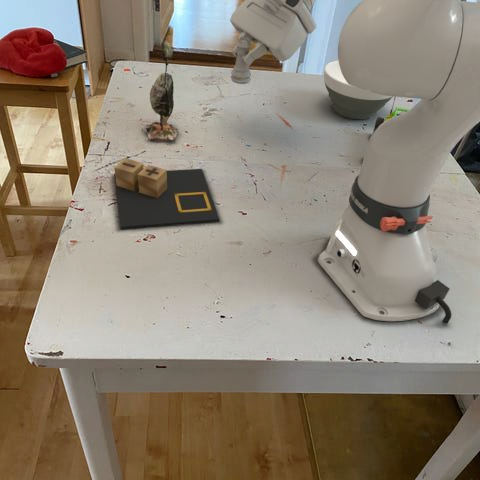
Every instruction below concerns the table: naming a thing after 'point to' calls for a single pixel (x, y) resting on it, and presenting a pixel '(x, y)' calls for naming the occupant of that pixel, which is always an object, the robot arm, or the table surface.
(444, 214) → the table surface
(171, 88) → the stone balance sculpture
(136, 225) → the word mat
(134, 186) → the plus minus wooden blocks
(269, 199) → the table surface
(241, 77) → the rook chess piece
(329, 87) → the bowl
